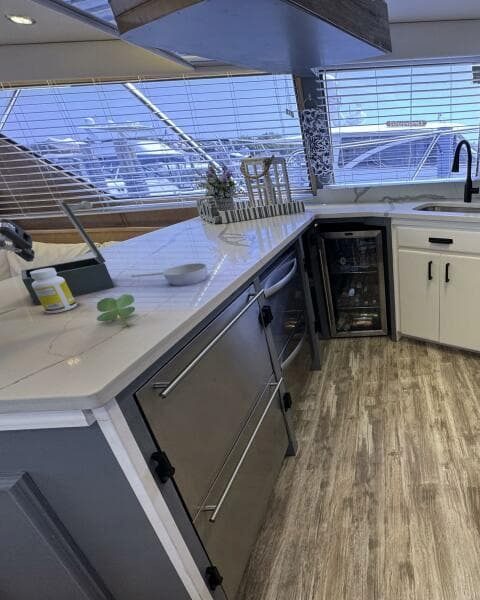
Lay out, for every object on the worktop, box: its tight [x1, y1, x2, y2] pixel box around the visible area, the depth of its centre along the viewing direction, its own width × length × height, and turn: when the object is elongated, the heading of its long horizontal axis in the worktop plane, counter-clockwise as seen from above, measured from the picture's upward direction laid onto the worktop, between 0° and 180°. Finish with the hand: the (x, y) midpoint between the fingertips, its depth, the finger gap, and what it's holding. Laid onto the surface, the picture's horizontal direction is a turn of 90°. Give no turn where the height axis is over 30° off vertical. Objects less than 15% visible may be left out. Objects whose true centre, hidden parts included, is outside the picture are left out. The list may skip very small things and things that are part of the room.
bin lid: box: [56, 199, 107, 263], centre depth 89 cm, size 16×13×6 cm
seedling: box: [96, 293, 136, 327], centre depth 68 cm, size 7×8×7 cm
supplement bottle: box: [30, 268, 77, 314], centre depth 75 cm, size 5×5×10 cm
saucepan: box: [131, 262, 208, 286], centre depth 91 cm, size 11×18×4 cm, turn 114°
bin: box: [20, 256, 115, 306], centre depth 88 cm, size 16×13×7 cm
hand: (1, 261), depth 62 cm, fingers open, 8 cm apart
